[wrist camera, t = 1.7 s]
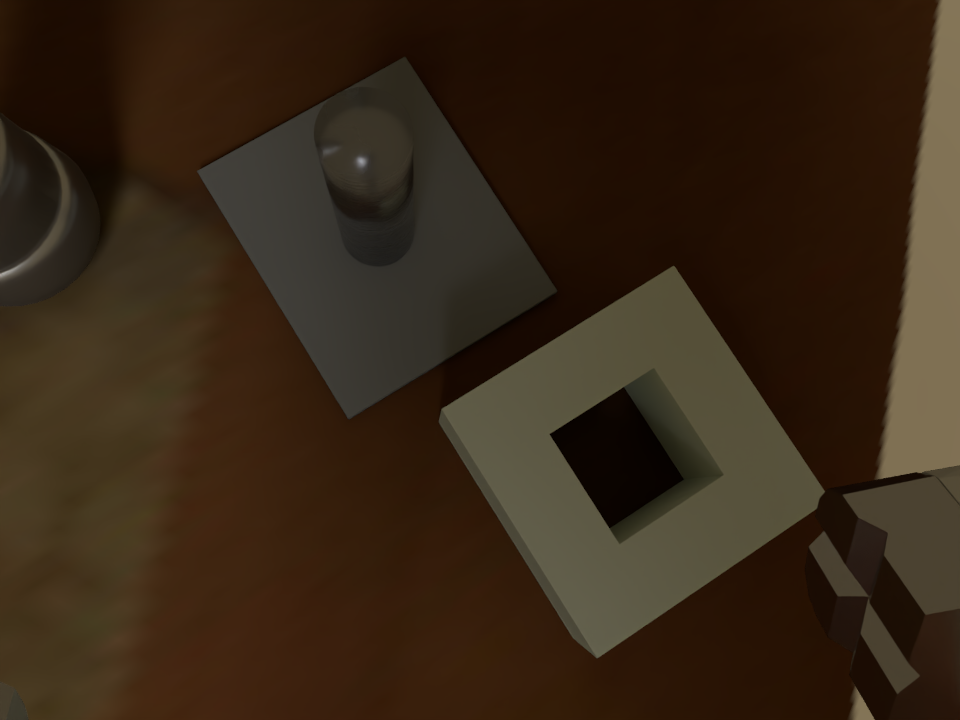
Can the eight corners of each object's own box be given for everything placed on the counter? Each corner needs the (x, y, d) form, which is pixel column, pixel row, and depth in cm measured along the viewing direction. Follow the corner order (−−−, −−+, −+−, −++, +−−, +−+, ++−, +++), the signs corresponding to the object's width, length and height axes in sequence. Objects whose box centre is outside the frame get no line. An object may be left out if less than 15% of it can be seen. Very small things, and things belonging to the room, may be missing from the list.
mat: (556, 293, 38) (557, 290, 38) (348, 419, 37) (348, 418, 36) (405, 61, 39) (405, 56, 39) (199, 174, 38) (196, 171, 38)
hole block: (775, 501, 37) (830, 499, 32) (572, 637, 36) (597, 658, 31) (641, 296, 38) (674, 265, 33) (438, 422, 37) (441, 409, 32)
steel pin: (427, 243, 38) (431, 149, 28) (365, 279, 37) (346, 198, 27) (389, 183, 38) (380, 69, 28) (327, 219, 38) (295, 116, 28)
